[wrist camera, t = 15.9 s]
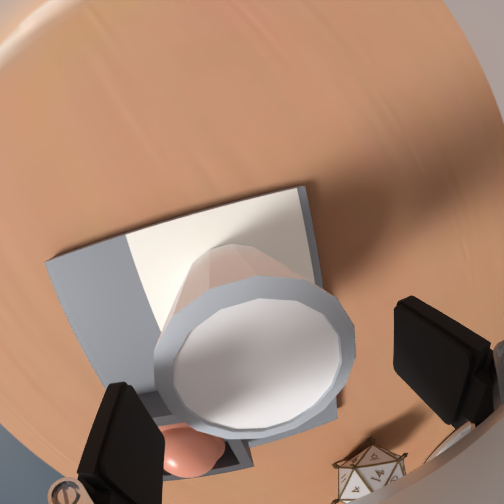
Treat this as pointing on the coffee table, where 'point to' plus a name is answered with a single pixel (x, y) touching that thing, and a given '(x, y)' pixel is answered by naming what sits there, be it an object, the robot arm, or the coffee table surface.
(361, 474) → the game die
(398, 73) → the coffee table surface
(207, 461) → the dome
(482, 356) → the robot arm
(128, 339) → the board
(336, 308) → the shot glass
